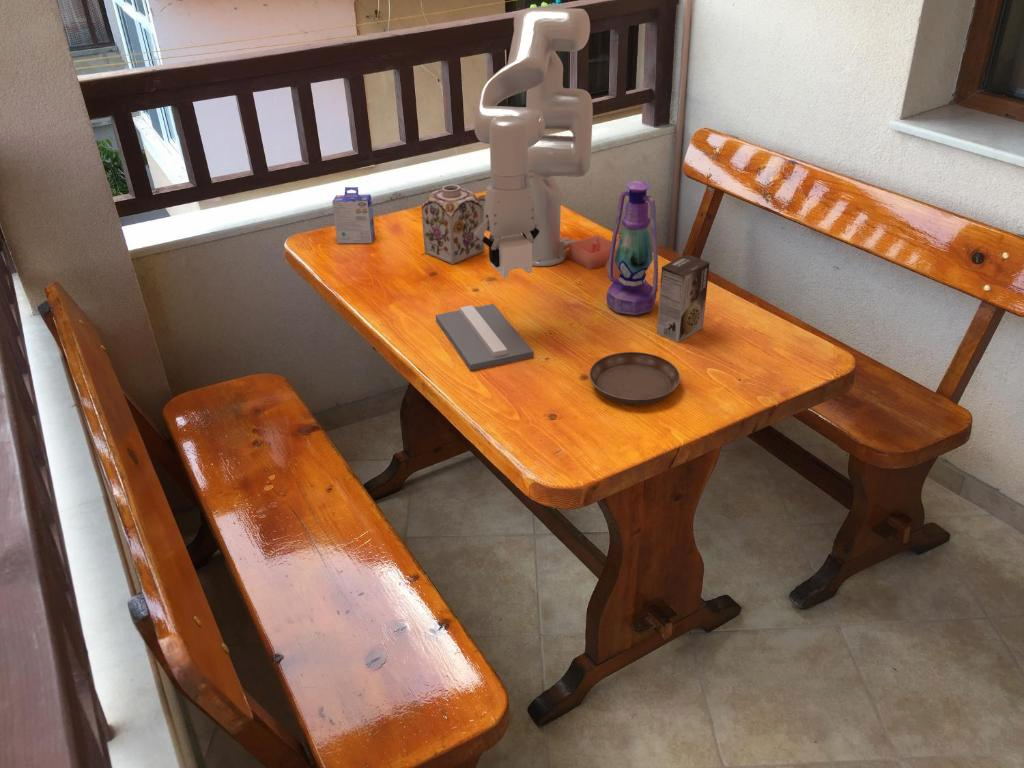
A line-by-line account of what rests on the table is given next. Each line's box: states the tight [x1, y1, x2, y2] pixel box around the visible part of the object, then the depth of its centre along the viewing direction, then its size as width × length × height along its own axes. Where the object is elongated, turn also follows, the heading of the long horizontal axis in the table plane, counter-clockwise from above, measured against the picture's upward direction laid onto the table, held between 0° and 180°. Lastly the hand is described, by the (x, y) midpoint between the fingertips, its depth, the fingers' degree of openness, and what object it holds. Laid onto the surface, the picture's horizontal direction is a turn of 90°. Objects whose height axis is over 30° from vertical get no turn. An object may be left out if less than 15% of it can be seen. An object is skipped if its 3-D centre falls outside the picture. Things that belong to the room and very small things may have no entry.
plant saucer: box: [588, 351, 681, 406], centre depth 170 cm, size 18×18×3 cm
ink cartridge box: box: [331, 186, 376, 244], centre depth 232 cm, size 10×6×14 cm, turn 89°
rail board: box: [435, 303, 534, 372], centre depth 187 cm, size 14×24×3 cm, turn 22°
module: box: [489, 233, 533, 279], centre depth 182 cm, size 6×8×6 cm
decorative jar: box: [421, 184, 485, 265], centre depth 223 cm, size 12×12×18 cm
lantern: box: [606, 179, 659, 316], centre depth 192 cm, size 13×12×30 cm
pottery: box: [568, 234, 621, 279], centre depth 217 cm, size 18×10×10 cm, turn 32°
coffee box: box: [656, 253, 710, 343], centre depth 185 cm, size 9×6×16 cm
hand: (510, 261), depth 183 cm, fingers closed on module, 6 cm apart
